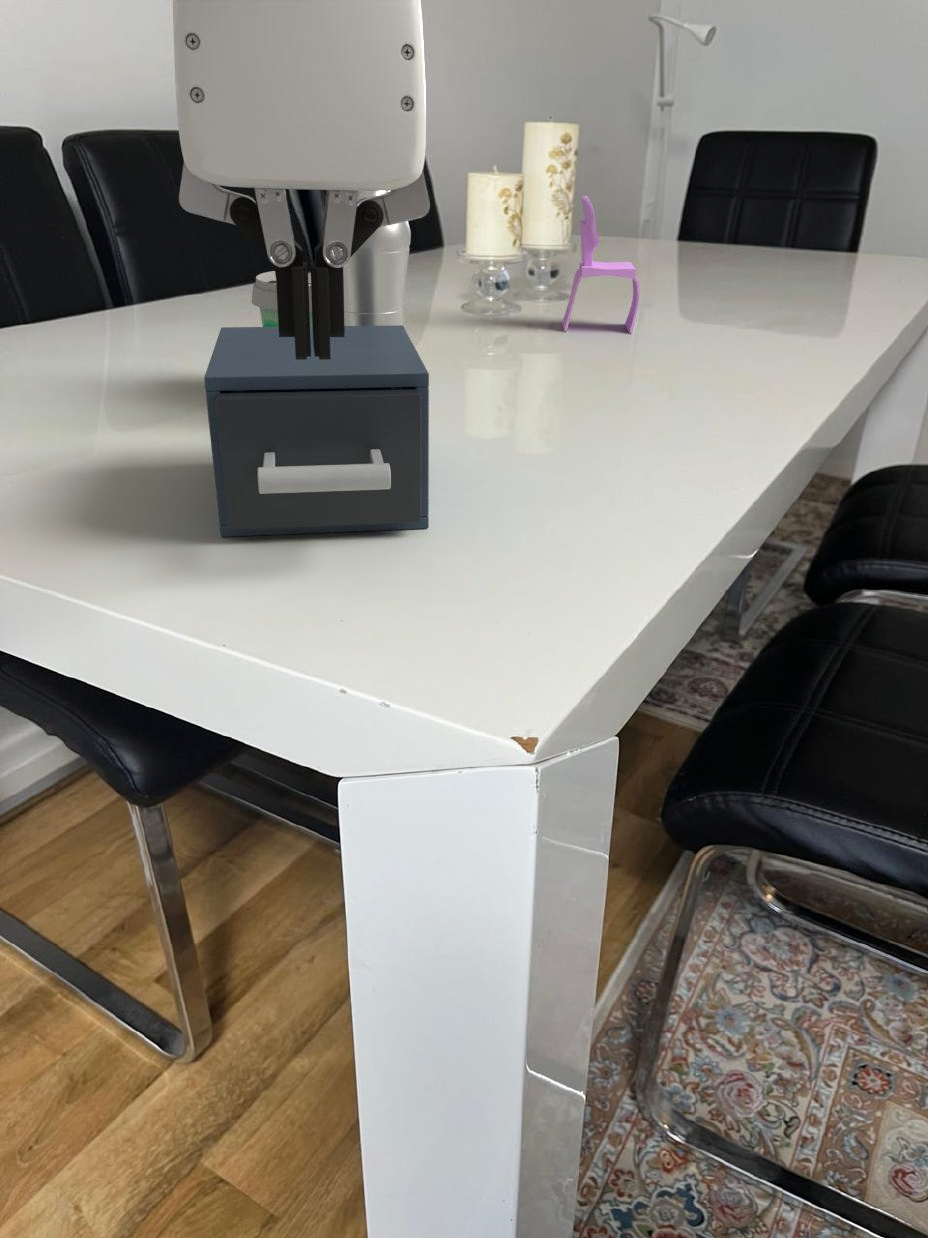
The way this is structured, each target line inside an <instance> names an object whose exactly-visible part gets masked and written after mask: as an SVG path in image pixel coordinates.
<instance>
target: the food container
mask: <svg viewBox="0 0 928 1238" xmlns="http://www.w3.org/2000/svg"><path fill="white" fill-rule="evenodd" d="M308 284H309V310H310V326H313V323H312V295H311V282H308ZM251 304H252V305H254V306H256V307H257V308H259V313H260V319H261V324H262V327H279V326H278V307H277V288H276V270H272V271H267V272H262V273H259V274H258V275H256V276H255V282H254V283H253V285H252V292H251Z"/></svg>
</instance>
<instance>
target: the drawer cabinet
mask: <svg viewBox="0 0 928 1238" xmlns="http://www.w3.org/2000/svg"><path fill="white" fill-rule="evenodd" d="M310 337H311V357H307V360H296V355H295V337H279V327H263V326H231V327H229V326H228V327H227V326H226V327H225V326H223V327H220V330H219V333H218V335H217V339H216V342H215V345H214V348H213V350H212V354H211V356H210V360H209V363H208V365H207V368H206V371H205V374H204V377H203V379H204V380H203V381H204V382H203V383H204V389H205V399H206V408H207V418H208V427H209V437H210V444H211V445H210V447H211V456H212V465H213V477H214V484H215V485H214V486H215V493H216V494H215V495H216V503H217V514H218V523H219V532H220V537H221V538H226V537H227V538H228V537H253V536H274V535H275V536H276V535H278V536H279V535H300V534H301V535H302V534H321V533H322V534H324V533H325V534H326V533H346V532H348V533H349V532H350V533H351V532H367V531H368V532H371V531H372V532H373V531H394V530H417V529H420V530H421V529H422V530H423V529H429V525H430V524H429V522H430V521H429V520H430V519H429V517H430V516H429V515H430V513H429V511H430V508H429V507H430V506H429V505H430V503H429V502H430V500H429V499H430V497H429V496H430V493H429V492H430V489H429V486H430V477H429V476H430V466H429V465H430V459H429V458H430V456H429V455H430V451H429V450H430V446H429V445H430V418H429V417H430V388H429V387H430V373H429V371H428V369H427V368H426V365H425V363H424V361H423V360H422V358H421V356H420V355H419V353H418V350H417V349H416V347H415V345H414V343H413V341H412V340H411V338H410V336H409V334H408V332H407V330H406V328H405V325H404V326H403V325H400V326H345V336H344V337H330V355H331V359H330V360H319V357H315V354H314V346H313V326H310ZM396 387H404V390H413V389H418V390H419V392H420V394H421V522H413V523H389V524H364V525H340V526H316V527H291V528H267V529H242V530H229V529H228V520H227V510H226V500H225V490H224V480H223V470H222V461H221V451H220V441H219V431H218V421H217V411H216V401H215V399H216V396H217V394H218V393H231V391H247V390H297V389H347V388H396Z"/></svg>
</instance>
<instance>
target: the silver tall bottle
mask: <svg viewBox="0 0 928 1238" xmlns="http://www.w3.org/2000/svg"><path fill="white" fill-rule="evenodd" d="M389 191H391V190H385V191H358V199H357V202H358V201H359V200H361V199H363V198H369V197H374V196H378V195H380V194H385V193H387V192H389ZM411 236H412V232H411V228H410V224H409V221H406V222H402V223H398V224H394V225H390V226H389V225H388V226H384V227H380V228H378V229H377V230H376V231H375V232H374V233H373V234H372V235H371V236H370V237H369V238H368V239H367V240H366V242H365V243H364V244H363V245H362V246H361V247H360V248H359V249H358V250H357V251H356V252H355V253H354V254H353V255H352V256H351V257H350V259H349V261H348V263H347V264H346V265H345V266H343V277H344V324H345V326H400V325H403V326H404V327H405V307H404V305H405V304H404V303H405V301H406V280H407V272H408V265H409V258H410V257H409V256H410V245H411V238H412V237H411Z"/></svg>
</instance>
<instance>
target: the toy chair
mask: <svg viewBox="0 0 928 1238" xmlns="http://www.w3.org/2000/svg"><path fill="white" fill-rule="evenodd" d="M580 199H581V203H582V210H583V214H584V215H583V217H584V220H580V221H579V229H580V249H581V250H580V251H581V260H579V265H578V267H579V268H578V269H577V270H576V271H575V273H574V277H573V280H572V285H571V291H570V295H569V299H568V303H567V306H566V310H565V313H564V316H563V319H562V328H564V329H563V331H564V332H567V331H568V328H569V324H570V319H571V316H572V312H573V307H574V304H575V299H576V295H577V292H578V289H579V285H580V283H581V281H582V280H583V279H585V278H588V277H589V278H590V277H603V276H610V277H611V276H612V277H618V278H619V277H620V278H628V279H631V281H632V301H631V305H630V308H629V312H628V315H627V317H626V320H625V323H624V325H625V327H626V330H627V332H628V333H629V334H633V332H634V328H635V323H636V319H637V316H638V315H637V314H638V310H639V304H640V281H639V279H638V278H637V268H636V267H635V266H634V264H633V262H631V261H614V262H613V261H611V262H608V261H607V262H606V261H594V260H593V257H594V250H595V248H597V247H598V246H599V243H600V238H599V235H598V232H597V231H598V230H597V226H596V214H595V210H594V207H593V204H592V202H591V200H590V198H589V197H588V195H582V196H581V198H580Z"/></svg>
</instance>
